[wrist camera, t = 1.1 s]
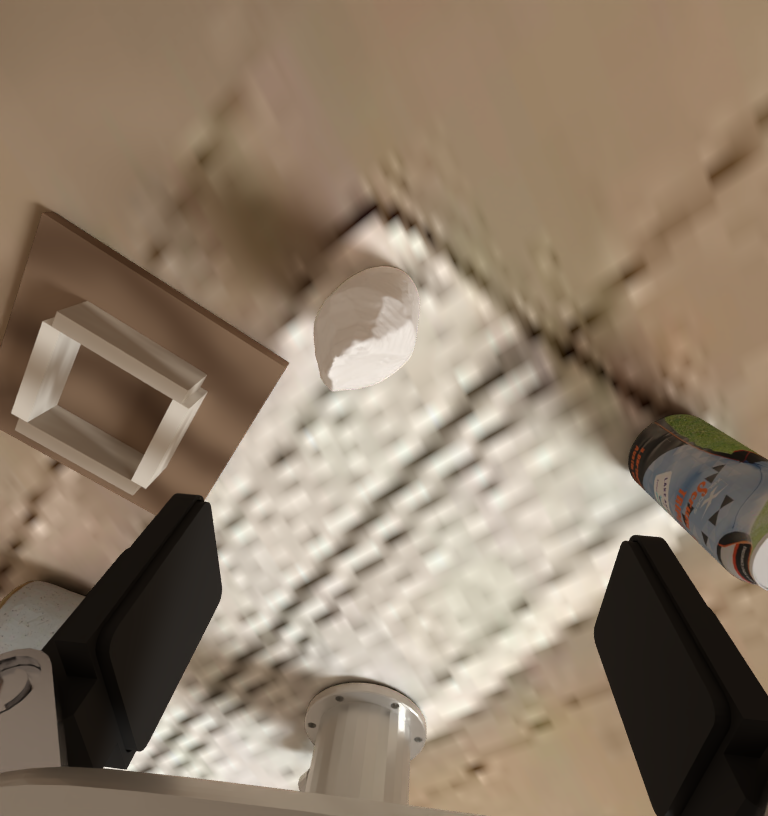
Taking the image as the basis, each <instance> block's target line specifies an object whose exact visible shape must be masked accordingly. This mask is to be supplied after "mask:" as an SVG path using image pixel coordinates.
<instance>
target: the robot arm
mask: <svg viewBox="0 0 768 816" xmlns="http://www.w3.org/2000/svg"><path fill="white" fill-rule="evenodd" d="M221 594H222V583H221V576H220V569H219V561H218V554H217V547H216V540H215V532H214V525H213V518H212V510H211V505H210V503H209V502H204V498H203V497H202V496H201V495H194V494H183V493H176V494H174V495H173V496H172V497H171V498H170V500H169V501H168V502H167V503H166V504H165V506H164V507H163V508H162V509H161V510H160V512H159V513H158V514H157V515H156V516H155V518H154V519H153V520H152V521H151V523H150V524H149V525H148V526H147V527H146V529H145V530H144V531H143V532H142V533H141V535H140V536H139V537H138V538H137V540H136V541H135V542H134V543H133V544H132V546H131V547H130V548H128V549H126V550H125V551H124V552H123V553H122V554H121V555H120V556H119V557H118V558H117V560H116V561H115V562H114V563H113V564H112V566H111V567H110V568H109V569H108V570H107V572H106V573H105V574H104V575H103V576H102V578H101V579H100V580H99V581H98V582H97V584H96V585H95V586H94V587H93V588H92V590H91V591H90V592H89V593H88V594H87V596H86V597H85V598H84V599H83V600H82V602H81V603H80V604H79V605H78V606H77V608H76V609H75V610H74V611H73V612H72V614H71V615H70V616H69V617H68V618H67V620H66V621H65V622H64V623H63V624H62V626H61V627H60V628H59V629H58V630H57V632H56V633H55V634H54V635H53V636H52V638H51V639H50V640H49V641H48V642H47V644H46V645H45V646H44V647H43V648H42V650H37V649H32V648H25V649H15V650H12V651H9V652H5V653H2V654H0V816H485V815H477V814H470V813H462V812H455V811H447V810H440V809H432V808H424V807H417V806H409V805H408V801H409V775H410V760H412V759H413V758H415V757H416V756H417V755H418V754H419V753H420V752H421V750H422V749H423V747H424V745H425V742H426V722H425V718H424V716H423V714H422V712H421V711H420V709H419V708H418V707H417V706H416V705H415V704H414V703H413V702H412V701H411V700H410V699H408V698H407V697H406V696H404V695H402V694H401V693H399V692H397V691H395V690H392V689H390V688H387V687H384V686H380V685H376V684H370V683H345V684H339V685H336V686H332V687H330V688H328V689H326V690H324V691H322V692H320V693H319V694H318V695H316V696H315V697H314V698H313V700H312V701H311V702H310V704H309V706H308V709H307V712H306V717H305V730H306V733H307V735H308V737H309V739H310V740H311V742H312V743H313V744H314V745H315V747H314V751H313V756H312V761H311V766H310V769H309V770H308V771H306V772H305V773H304V774H303V775H302V776H301V777H300V779H299V782H298V786H299V790H300V791H293V790H285V789H277V788H269V787H261V786H254V785H246V784H238V783H230V782H222V781H214V780H206V779H198V778H190V777H181V776H171V775H162V774H152V773H143V772H133V771H123V770H114V769H103V767H111V768H119V769H126V770H127V768H128V766H129V764H130V762H131V760H132V758H133V756H134V754H135V752H136V751H142V750H144V748H145V747H146V746H147V744H148V742H149V741H150V739H151V737H152V735H153V733H154V731H155V729H156V727H157V725H158V723H159V721H160V719H161V717H162V715H163V713H164V711H165V709H166V707H167V705H168V703H169V701H170V699H171V697H172V695H173V693H174V691H175V689H176V687H177V685H178V683H179V681H180V679H181V677H182V675H183V673H184V671H185V669H186V667H187V665H188V664H189V662H190V660H191V658H192V656H193V654H194V652H195V650H196V648H197V646H198V644H199V642H200V640H201V638H202V636H203V634H204V632H205V630H206V628H207V626H208V624H209V622H210V620H211V618H212V616H213V614H214V612H215V610H216V608H217V606H218V604H219V602H220V599H221ZM594 639H595V644H596V647H597V650H598V652H599V655H600V658H601V661H602V664H603V667H604V670H605V673H606V675H607V678H608V681H609V684H610V687H611V690H612V693H613V695H614V698H615V701H616V704H617V707H618V710H619V713H620V715H621V718H622V721H623V724H624V727H625V730H626V733H627V736H628V738H629V741H630V744H631V747H632V750H633V753H634V756H635V758H636V761H637V764H638V767H639V770H640V773H641V776H642V778H643V781H644V784H645V787H646V790H647V793H648V796H649V799H650V801H651V804H652V807H653V809H654V811H655V813H656V815H657V816H768V695H767V694H766V692H765V691H764V689H763V688H762V686H761V685H760V683H759V681H758V680H757V678H756V677H755V675H754V674H753V672H752V671H751V669H750V668H749V666H748V664H747V663H746V661H745V660H744V658H743V657H742V655H741V654H740V652H739V651H738V649H737V647H736V646H735V644H734V643H733V641H732V640H731V638H730V637H729V635H728V634H727V632H726V631H725V629H724V627H723V626H722V624H721V623H720V621H719V620H718V618H717V617H716V615H715V614H714V613H713V611H712V610H711V609H710V608H709V607H708V606H707V605H706V603H705V602H704V600H703V598H702V597H701V595H700V594H699V592H698V591H697V589H696V588H695V586H694V584H693V583H692V581H691V580H690V578H689V577H688V575H687V574H686V572H685V570H684V569H683V567H682V566H681V564H680V563H679V561H678V560H677V558H676V556H675V555H674V553H673V552H672V550H671V549H670V547H669V546H668V544H667V542H666V541H665V540H664V539H663V538H661V537H651V536H640V535H633V536H632V537H631V538H630V540H629V541H623V542H622V544H621V546H620V549H619V552H618V555H617V558H616V561H615V565H614V568H613V571H612V574H611V577H610V580H609V583H608V586H607V589H606V592H605V596H604V599H603V602H602V605H601V608H600V611H599V614H598V617H597V620H596V623H595V627H594Z"/></svg>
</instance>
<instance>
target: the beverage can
mask: <svg viewBox="0 0 768 816" xmlns="http://www.w3.org/2000/svg"><path fill="white" fill-rule="evenodd" d="M628 465H629V470H630V473H631V476H632V477H633V479H634V480H635V481H636V482H637V483H638V484H639V485H640V486H641V487H642V488H643V489H644V490H645V491H646V492H647V493H648V494H649V495H650V496H651V497H652V498H653V499H654V500H655V501H656V502H657V503H658V504H659V505H660V506H661V507H662V508H663V509H664V510H665V511H667V512H668V513H669V514H670V515H671V516H672V517H673V518H674V519H675V520H676V521H677V522H678V523H679V524H680V525H681V526H682V527H683V528H684V529H685V530H686V531H687V532H688V533H689V534H690V535H691V536H692V537H693V538H694V539H695V540H696V541H697V542H698V543H699V544H700V545H701V546H702V547H703V548H704V549H706V550H707V551H708V552H709V553H710V554H711V555H712V556H713V557H714V558H715V559H716V560H717V561H718V562H719V563H720V564H721V565H722V566H723V567H724V568H725V569H726V570H727V571H728V572H729V573H730V574H731V575H733V576H735V577H736V578H738V579H740V580H742V581H745V582H748V583H751V584H754V585H759V586H760V587H762V588H763V589H765V590H767V591H768V460H767V459H766V458H764V457H762V456H761V455H759V454H757V453H756V452H754V451H753V450H751V449H749V448H748V447H746V446H744V445H743V444H741V443H739V442H738V441H736V440H735V439H733V438H731V437H730V436H728V435H726V434H725V433H723V432H721V431H720V430H718V429H717V428H715V427H713V426H712V425H710V424H708V423H707V422H705V421H704V420H702V419H700V418H698V417H695V416H692V415H687V414H678V415H671V416H668V417H665V418H662V419H660V420H658V421H656V422H654V423H653V424H651V425H650V426H648V427H647V428H646V429H645V430H644V431H643V432H642V433H641V434H640V435H639V436H638V437H637V439H636V440H635V442H634V443H633V446H632V448H631V450H630V454H629V461H628Z"/></svg>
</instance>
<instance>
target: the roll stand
mask: <svg viewBox="0 0 768 816" xmlns="http://www.w3.org/2000/svg"><path fill="white" fill-rule="evenodd" d="M288 364H289V363H288V362H287V361H285V360H284V359H282V358H281V357H279V356H278V355H276V354H274V353H273V352H271V351H270V350H268V349H267V348H265V347H264V346H262V345H260V344H259V343H257V342H256V341H254V340H253V339H251V338H250V337H248V336H246V335H245V334H243V333H242V332H240V331H239V330H237V329H235V328H234V327H232V326H231V325H229V324H228V323H226V322H225V321H223V320H221V319H220V318H218V317H217V316H215V315H214V314H212V313H211V312H209V311H207V310H206V309H204V308H203V307H201V306H200V305H198V304H196V303H195V302H193V301H192V300H190V299H189V298H187V297H186V296H184V295H182V294H181V293H179V292H178V291H176V290H175V289H173V288H172V287H170V286H168V285H167V284H165V283H164V282H162V281H161V280H159V279H158V278H156V277H154V276H153V275H151V274H150V273H148V272H147V271H145V270H143V269H142V268H140V267H139V266H137V265H136V264H134V263H133V262H131V261H129V260H128V259H126V258H125V257H123V256H122V255H120V254H119V253H117V252H115V251H114V250H112V249H111V248H109V247H108V246H106V245H105V244H103V243H101V242H100V241H98V240H97V239H95V238H94V237H92V236H90V235H89V234H87V233H86V232H84V231H83V230H81V229H80V228H78V227H76V226H75V225H73V224H72V223H70V222H69V221H67V220H66V219H64V218H62V217H61V216H59V215H58V214H56V213H55V212H43V213H42V215H41V219H40V222H39V225H38V228H37V232H36V235H35V238H34V241H33V244H32V248H31V251H30V254H29V257H28V261H27V264H26V267H25V270H24V274H23V277H22V280H21V283H20V286H19V290H18V293H17V296H16V299H15V303H14V306H13V309H12V312H11V316H10V319H9V322H8V325H7V328H6V332H5V335H4V338H3V341H2V345H1V348H0V430H2V431H4V432H6V433H8V434H9V435H11V436H13V437H15V438H17V439H18V440H20V441H22V442H24V443H26V444H27V445H29V446H31V447H33V448H35V449H36V450H38V451H40V452H42V453H44V454H46V455H47V456H49V457H51V458H53V459H55V460H56V461H58V462H60V463H62V464H64V465H65V466H67V467H69V468H71V469H73V470H74V471H76V472H78V473H80V474H82V475H83V476H85V477H87V478H89V479H91V480H93V481H94V482H96V483H98V484H100V485H102V486H103V487H105V488H107V489H109V490H111V491H112V492H114V493H116V494H118V495H120V496H121V497H123V498H125V499H127V500H129V501H130V502H132V503H134V504H136V505H138V506H140V507H141V508H143V509H145V510H147V511H149V512H150V513H152V514H154V515H157V514H158V513H159V512H160V510H161V509H162V508H163V507H164V506H165V504H166V503H167V502H168V501H169V500H170V498H171V497H172V496H173V495H174V494H176V493H183V494H194V495H201V496H202V497H203V498H204V500H205V499H206V497H207V495H208V494H209V492H210V490H211V489H212V487H213V486H214V484H215V482H216V481H217V479H218V477H219V476H220V474H221V473H222V471H223V469H224V468H225V466H226V465H227V463H228V461H229V460H230V458H231V456H232V455H233V453H234V452H235V450H236V448H237V447H238V445H239V443H240V442H241V440H242V439H243V437H244V435H245V434H246V432H247V431H248V429H249V427H250V426H251V424H252V422H253V421H254V419H255V418H256V416H257V414H258V413H259V411H260V409H261V408H262V406H263V405H264V403H265V401H266V400H267V398H268V397H269V395H270V393H271V392H272V390H273V388H274V387H275V385H276V384H277V382H278V380H279V379H280V377H281V375H282V374H283V372H284V371H285V369H286V367H287V366H288Z"/></svg>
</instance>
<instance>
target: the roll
mask: <svg viewBox="0 0 768 816" xmlns="http://www.w3.org/2000/svg"><path fill="white" fill-rule="evenodd" d="M419 314H420V298H419V294H418V291H417V288H416V286H415V284H414V282H413V280H412V279H411V278H410V276H409V275H407V274H406V273H405V272H404V271H402V270H400V269H398V268H394V267H389V266H379V267H373V268H369V269H366V270H364V271H362V272H359V273H357V274H355V275H353V276H352V277H350V278H349V279H347V280H346V281H344V282H343V283H342V284H341V285H340V286H339V287H338V288H337V289H336V290H335V291H334V292H333V293H332V294H331V295H330V296H329V297H328V298H327V299H326V300H325V301H324V303H323V304H322V306H321V308H320V310H319V311H318V313H317V316H316V319H315V323H314V345H315V355H316V359H317V362H318V367H319V371H320V376H321V379H322V380H323V382H324V383H325V385H326V386H327V387H328V388H329V389H330V390H331V391H340V390H349V389H352V390H354V389H360V388H365V387H369V386H372V385H375V384H378V383H380V382H382V381H383V380H385V379H386V378H388V377H389V376H391V375H392V374H394V373H395V372H396V371H397V370H399V369H400V368H401V367H402V366H403V365H404V364H405V363H406V362H407V361H408V360H409V359H410V357H411V355H412V353H413V350H414V347H415V343H416V338H417V331H418V321H419Z"/></svg>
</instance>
